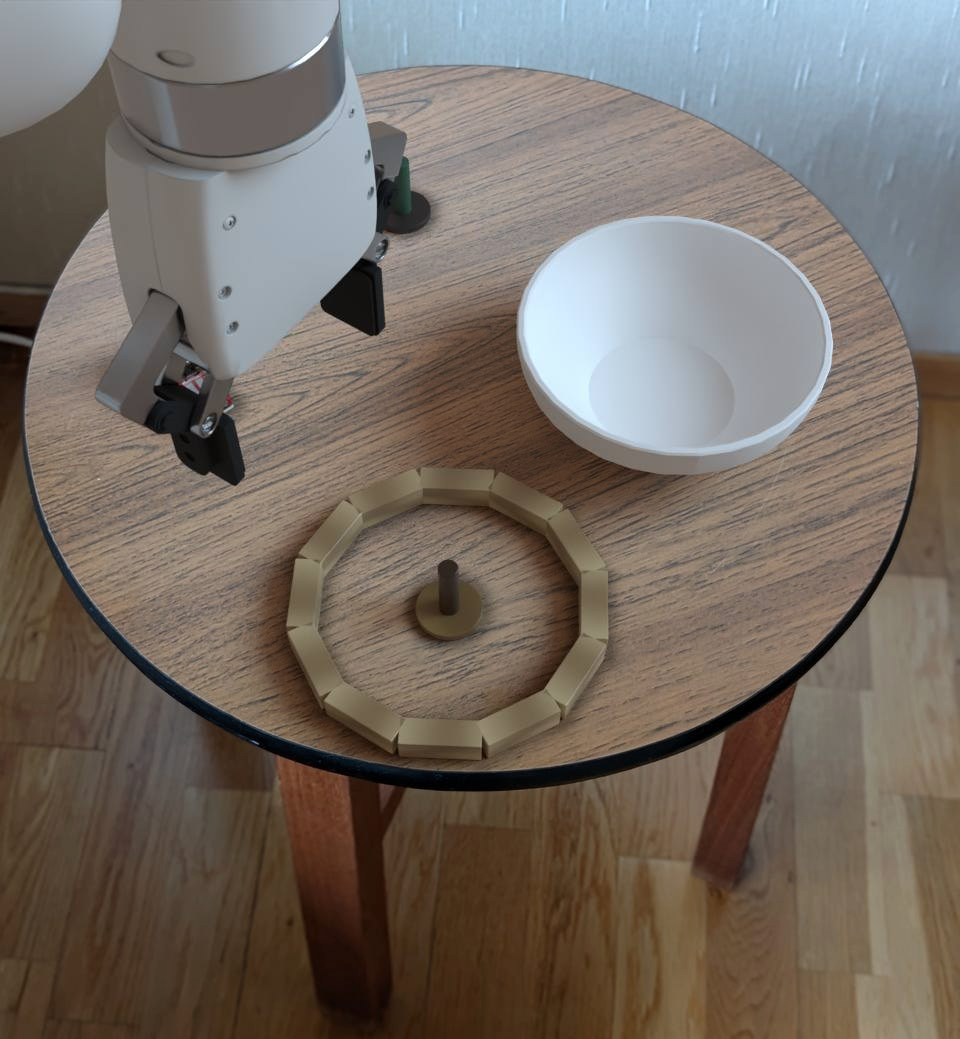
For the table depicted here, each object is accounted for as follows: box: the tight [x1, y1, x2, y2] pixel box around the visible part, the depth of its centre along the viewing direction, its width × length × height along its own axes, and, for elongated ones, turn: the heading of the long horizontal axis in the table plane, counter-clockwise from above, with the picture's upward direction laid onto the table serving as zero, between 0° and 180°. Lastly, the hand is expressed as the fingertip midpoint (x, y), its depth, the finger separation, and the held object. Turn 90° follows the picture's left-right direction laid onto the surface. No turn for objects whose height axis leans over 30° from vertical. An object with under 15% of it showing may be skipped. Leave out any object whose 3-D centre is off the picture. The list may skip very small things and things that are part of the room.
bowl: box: [516, 215, 834, 476], centre depth 85 cm, size 20×20×7 cm
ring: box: [285, 466, 609, 761], centre depth 79 cm, size 19×19×2 cm
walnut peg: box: [415, 558, 484, 641], centre depth 78 cm, size 4×4×5 cm
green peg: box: [384, 155, 432, 234], centre depth 96 cm, size 4×4×5 cm
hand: (285, 390), depth 58 cm, fingers open, 9 cm apart
